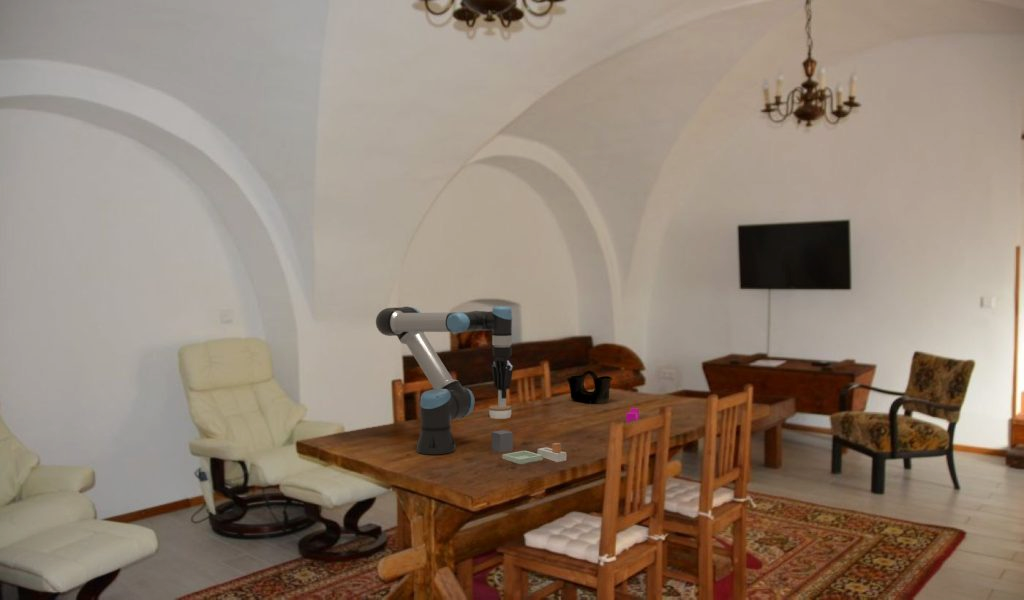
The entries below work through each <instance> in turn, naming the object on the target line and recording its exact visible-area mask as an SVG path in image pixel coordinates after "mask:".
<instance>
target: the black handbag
mask: <svg viewBox="0 0 1024 600" xmlns="http://www.w3.org/2000/svg"><path fill="white" fill-rule="evenodd" d="M588 374H589V375H590V376H591V377H592V380H593V384H594V390H593V391H589V390H587V389H586V388H585V378H586V377H587V376H588ZM566 380H567V382H568V386H569V391H570V398H571V399H572V400H573V401H574V402H576V403H580V404H585V405H604V404H605V403H607V402H608V400H609V399H610V389H611V383H612V381H613V377H611V376H608V375H605V376H603V375H602V376H598V375H597V373H596V372H594V371H592V370H587V371H585V372H584V373H583V374H580V375H579V374H578V375H572V376H570V377H567V378H566Z"/></svg>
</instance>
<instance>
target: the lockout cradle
mask: <svg viewBox="0 0 1024 600" xmlns="http://www.w3.org/2000/svg"><path fill="white" fill-rule="evenodd" d="M501 454H502V453H501ZM501 459H503V460H505V461H509V462H511V463H512V464H513V463H514V464H515V465H520V466H521V465H524V464H525V465H526V464H531V463H535V462H541V461H543V460H544V458H543V455H540V454H538V453H535V452H532V451H528V450H520V451H515V452H508V453H503V454H502V455H501Z"/></svg>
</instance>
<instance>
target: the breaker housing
mask: <svg viewBox="0 0 1024 600" xmlns="http://www.w3.org/2000/svg"><path fill="white" fill-rule="evenodd" d="M536 452H537V454H540V455H543V459H547V460H549V461H553V462H556V463H561V462H564V461H567V452H566V451H562V450H561V452H558V453H555V452H552V447H551V448H550V447H541V448H540V447H539V448H537V451H536Z"/></svg>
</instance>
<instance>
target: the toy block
mask: <svg viewBox="0 0 1024 600" xmlns="http://www.w3.org/2000/svg"><path fill="white" fill-rule="evenodd" d="M625 415H626V417H625V421H626V422H630V421H634V420H638V419H640V408H632V407H631V408H630V410H629V412H626V413H625Z"/></svg>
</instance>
